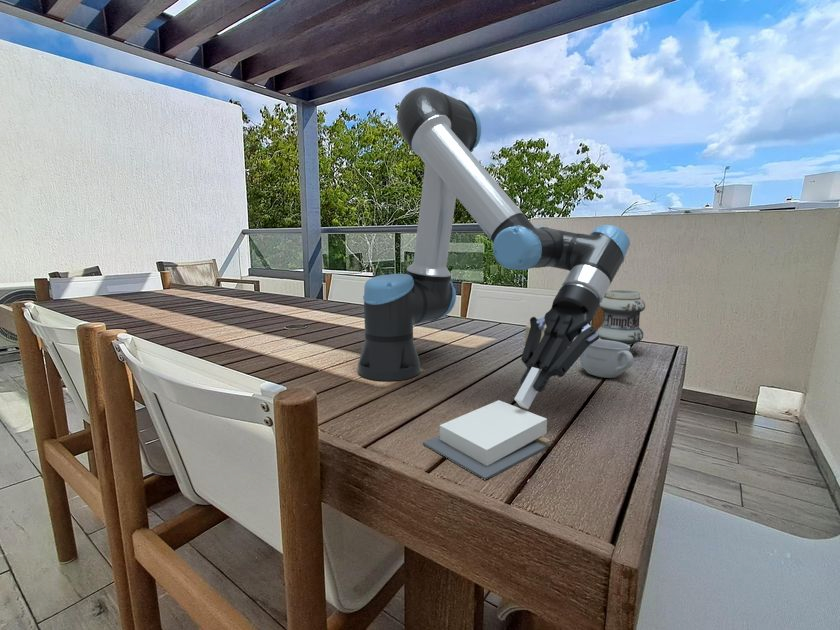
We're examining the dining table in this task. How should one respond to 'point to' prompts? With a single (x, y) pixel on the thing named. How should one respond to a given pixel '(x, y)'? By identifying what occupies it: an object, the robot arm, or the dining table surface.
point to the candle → (529, 330)
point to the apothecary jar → (621, 317)
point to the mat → (478, 467)
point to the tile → (493, 431)
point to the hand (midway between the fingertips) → (521, 404)
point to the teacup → (606, 358)
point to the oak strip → (543, 441)
